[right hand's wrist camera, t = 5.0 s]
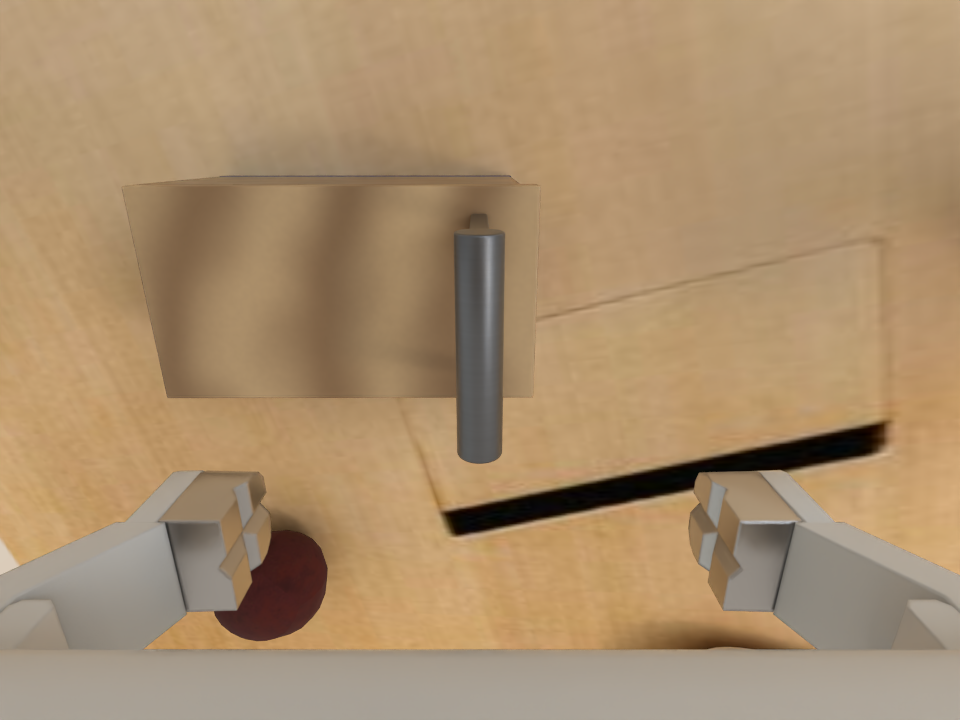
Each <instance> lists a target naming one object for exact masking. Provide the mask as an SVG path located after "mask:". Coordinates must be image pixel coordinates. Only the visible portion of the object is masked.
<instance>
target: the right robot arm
mask: <svg viewBox="0 0 960 720" xmlns="http://www.w3.org/2000/svg"><path fill="white" fill-rule="evenodd" d="M265 494H266V488H265V483H264V478H263V476H262V475H261V474H260V473H259V472H240V471H203V470H200V471H177V472H173V473H172V474H171V475H170V476H169V477H168V478H167V479H166V480H165V481H164V482H163V483H162V484H161V486H160V487H159V488H158V489H157V490H156V491H155V492H154V493H153V494H152V495H151V496H150V497H149V498H148V499H147V500H146V501H145V502H144V503H143V504H142V505H141V506H140V507H139V508H138V509H137V510H136V511H135V512H134V513H133V514H132V515H131V516H130V517H129V519H128V520H127V521H126V522H116V523H113V524H111V525H109V526H107V527H105V528H102V529H100V530H98V531H96V532H94V533H91V534H89V535H87V536H85V537H83V538H81V539H78V540H76V541H74V542H72V543H70V544H67V545H65V546H63V547H61V548H59V549H56V550H54V551H52V552H50V553H48V554H45V555H43V556H41V557H39V558H37V559H35V560H32V561H30V562H28V563H26V564H24V565H21V566H19V567H17V568H15V569H13V570H11V571H8V572H6V573H4V574H2V575H0V720H960V575H958V574H956V573H954V572H951V571H949V570H947V569H945V568H943V567H941V566H938V565H936V564H934V563H932V562H930V561H927V560H925V559H923V558H921V557H919V556H917V555H914V554H912V553H910V552H908V551H906V550H903V549H901V548H899V547H897V546H895V545H893V544H890V543H888V542H886V541H884V540H882V539H879V538H877V537H875V536H873V535H871V534H868V533H866V532H864V531H862V530H860V529H858V528H855V527H853V526H851V525H849V524H847V523H844V522H834V521H833V520H832V518H831V517H830V516H829V515H828V514H827V513H826V512H825V511H824V510H823V509H822V508H821V507H820V506H819V505H818V504H817V503H816V502H815V501H814V500H813V499H812V498H811V497H810V496H809V495H808V494H807V493H806V492H805V491H804V490H803V489H802V487H801V486H800V485H799V484H798V483H797V482H796V481H795V480H794V479H793V478H792V477H791V476H790V475H789V474H788V473H786V472H784V471H781V470H774V471H748V472H708V473H699V474H698V477H697V479H696V481H695V487H694V494H695V495H696V497H697V499H698V500H699V502H700V503H699V504H698V505H697V506H696V507H695V508H694V509H693V510H692V511H691V512H690V520H689V539H690V545H691V548H692V552H693V554H694V556H695V558H696V560H697V562H698V564H699V565H701V566H702V567H704V568H705V569H707V570H708V571H710V572H709V578H708V583H709V585H710V587H711V589H712V591H713V592H714V594H715V596H716V598H717V600H718V602H719V604H720V605H721V607H722V609H723V611H759V612H774V613H773V614H774V615H775V616H776V617H777V618H779V619H780V620H781V621H782V622H784V623H785V624H786V625H787V626H789V627H790V628H791V629H793V630H794V631H795V632H796V633H798V634H799V635H800V636H801V637H803V638H804V639H805V640H806V641H808V642H809V643H810V644H811V645H813V646H814V647H815V648H816V649H568V650H538V649H537V650H536V649H144V648H145V647H146V646H148V645H149V644H150V643H151V642H153V641H154V640H155V639H156V638H158V637H159V636H160V635H161V634H163V633H164V632H165V631H166V630H168V629H169V628H170V627H171V626H173V625H174V624H175V623H176V622H178V621H179V620H180V619H182V618H183V617H184V616H185V615H186V614H187V613H186V612H201V611H236V610H237V609H238V607H239V606H240V604H241V602H242V600H243V598H244V596H245V594H246V593H247V591H248V589H249V587H250V585H251V583H252V578H251V572H250V571H252V570H253V569H255V568H256V567H258V566H259V565H261V564H262V562H263V560H264V558H265V556H266V554H267V552H268V548H269V544H270V539H271V519H270V512H269V511H268V510H267V509H266V508H265V507H264V506H263V505H262V504H261V503H260V502H261V500H262V499H263V497H264V495H265Z"/></svg>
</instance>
